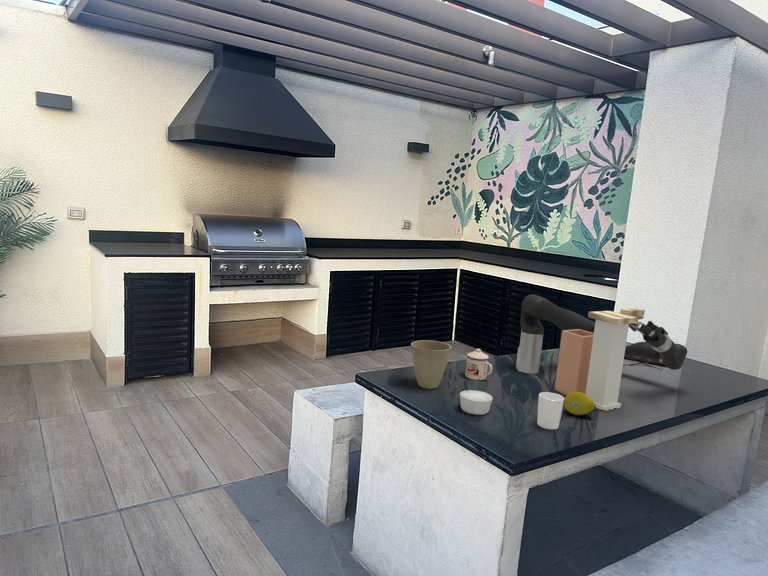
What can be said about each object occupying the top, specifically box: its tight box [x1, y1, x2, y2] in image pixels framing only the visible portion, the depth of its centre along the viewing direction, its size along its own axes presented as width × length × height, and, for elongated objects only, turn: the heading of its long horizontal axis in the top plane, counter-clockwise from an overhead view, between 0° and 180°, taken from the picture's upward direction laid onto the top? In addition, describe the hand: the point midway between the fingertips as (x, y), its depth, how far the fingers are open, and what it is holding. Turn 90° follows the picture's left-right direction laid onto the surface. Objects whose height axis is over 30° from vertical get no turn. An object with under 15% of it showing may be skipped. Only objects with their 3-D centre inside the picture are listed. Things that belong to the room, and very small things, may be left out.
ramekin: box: [459, 389, 494, 415], centre depth 191 cm, size 11×11×5 cm
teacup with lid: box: [464, 348, 493, 381], centre depth 226 cm, size 12×9×12 cm
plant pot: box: [410, 339, 452, 390], centre depth 211 cm, size 15×15×16 cm
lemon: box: [563, 391, 596, 416], centre depth 193 cm, size 11×8×8 cm
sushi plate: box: [623, 356, 666, 371], centre depth 272 cm, size 29×30×4 cm
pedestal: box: [586, 319, 629, 411], centre depth 204 cm, size 10×10×32 cm
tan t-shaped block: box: [587, 307, 645, 325], centre depth 204 cm, size 22×12×4 cm, turn 121°
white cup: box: [536, 391, 565, 431], centre depth 181 cm, size 8×8×10 cm
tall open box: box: [554, 329, 594, 396], centre depth 216 cm, size 10×10×24 cm
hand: (638, 320), depth 209 cm, fingers open, 8 cm apart
